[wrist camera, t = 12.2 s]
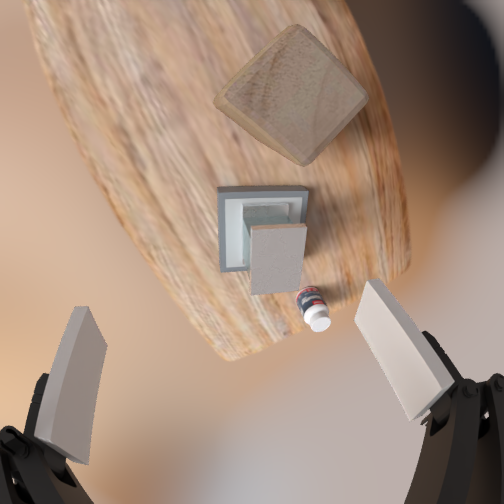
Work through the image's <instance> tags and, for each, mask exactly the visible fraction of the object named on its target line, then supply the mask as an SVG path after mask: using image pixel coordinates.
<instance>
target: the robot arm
mask: <svg viewBox="0 0 504 504" xmlns="http://www.w3.org/2000/svg"><path fill="white" fill-rule="evenodd" d="M354 321H355V323H356V324H357V325H358V328H359V329H360V331H361V333H362V335H363V336H364V338H365V340H366V341H367V343H368V345H369V347H370V349H371V350H372V352H373V354H374V355H375V357H376V359H377V361H378V363H379V364H380V366H381V368H382V370H383V372H384V374H385V375H386V377H387V379H388V381H389V383H390V385H391V386H392V388H393V390H394V392H395V394H396V396H397V398H398V400H399V401H400V403H401V405H402V407H403V409H404V411H405V413H406V415H407V417H408V419H409V421H412V420H414V419H416V418H418V417H420V416H422V415H423V414H424V413H425V412H426V411H427V410H428V409H430V411H431V413H430V414H429V415H428V416H427V417H425V418H424V420H422V422H421V425H423V424H424V423H425V422H427V421H428V422H427V424H426V425H425V426H427V427H426V432H425V437H424V441H423V445H422V449H421V453H420V457H419V461H418V464H417V467H416V471H415V474H414V477H413V480H412V483H411V486H410V489H409V492H408V495H407V497H406V500H405V503H404V504H504V376H503V375H501V374H498V373H496V374H493V376H492V377H491V378H490V379H489V380H488V381H484V382H479V383H476V382H475V381H473V380H471V379H464V378H463V377H462V376H461V375H460V373H459V372H458V370H457V369H456V367H455V366H454V364H453V363H452V362H451V360H450V359H449V357H448V356H447V354H445V351H444V350H443V349H442V347H440V344H439V343H438V342H437V340H436V339H435V338H434V337H433V336H432V335H431V334H430V333H428V332H427V331H423V332H421V331H420V330H419V329H418V327H417V326H416V324H415V323H414V322H413V320H412V319H411V318H410V317H409V315H408V314H407V313H406V311H405V310H404V309H403V307H402V306H401V305H400V303H399V302H398V301H397V300H396V298H395V297H394V296H393V295H392V293H391V292H390V291H389V290H388V288H387V287H386V286H385V285H384V283H383V282H382V281H381V280H380V279H379V278H378V279H371V280H367V282H366V285H365V288H364V292H363V295H362V298H361V301H360V304H359V307H358V310H357V313H356V316H355V319H354ZM106 350H107V343H106V342H105V340H104V338H103V336H102V334H101V332H100V330H99V328H98V326H97V324H96V322H95V320H94V318H93V316H92V313H91V311H90V309H89V307H88V306H80V307H79V306H78V307H75V308H74V310H73V312H72V315H71V317H70V319H69V322H68V324H67V327H66V329H65V332H64V334H63V337H62V339H61V342H60V345H59V348H58V350H57V353H56V356H55V359H54V362H53V365H52V368H51V371H50V374H46V373H43V374H42V376H41V377H40V379H39V380H38V381H37V383H36V387H35V390H34V395H33V397H32V403H31V404H30V408H29V412H28V416H27V420H26V425H25V429H24V433H23V434H22V433H21V432H20V431H18V430H17V429H16V428H14V427H13V426H5V427H4V428H3V429H2V430H1V431H0V504H94V503H93V502H92V501H91V499H90V498H89V496H88V495H87V493H86V492H85V490H84V489H83V488H82V486H81V485H80V483H79V482H78V480H77V478H76V477H75V475H74V474H73V472H72V471H71V469H70V467H69V466H68V464H67V463H66V458H68V459H69V460H71V461H73V462H76V463H80V464H85V465H89V454H90V442H91V434H92V425H93V418H94V412H95V405H96V399H97V394H98V388H99V382H100V378H101V373H102V368H103V363H104V358H105V355H106ZM486 412H488V413H489V417H488V418H487V419H486V418H485V416H484V414H486ZM12 478H14V481H15V483H13V480H12Z"/></svg>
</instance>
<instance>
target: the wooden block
mask: <svg viewBox="0 0 504 504" xmlns="http://www.w3.org/2000/svg"><path fill="white" fill-rule="evenodd" d="M368 100H369V96H368V94H367V92H366V91H365V89H364V88H363V87H362V86H361V85H360V83H359V82H358V81H357V80H356V79H355V78H354V76H353V75H352V74H351V73H350V72H349V71H348V70H347V69H346V68H345V66H344V65H343V64H342V63H341V62H340V61H339V60H338V59H337V58H336V57H335V56H334V55H333V54H332V53H331V52H330V51H329V50H328V49H327V48H326V47H325V46H324V45H323V44H322V43H321V42H320V41H319V40H318V39H317V38H316V37H315V36H314V35H312V34H311V33H310V32H309V31H308V30H307V29H306V28H305V27H303V26H301V25H298V24H295V25H292V26H288V27H287V28H286V29H284V30H283V31H282V32H281V33H280V34H279V35H277V36H276V37H275V38H274V39H273V40H272V41H271V42H269V43H268V44H267V45H266V46H265V47H264V48H263V49H262V50H261V51H260V52H259V53H257V54H256V55H255V56H254V57H253V58H252V59H251V60H250V61H249V62H248V63H247V64H246V65H245V66H244V67H243V68H242V69H241V70H240V71H239V72H238V73H237V74H236V75H235V76H234V77H233V78H232V79H231V81H230V82H229V83H228V84H227V85H226V86H225V87H224V88H223V89H222V90H221V91H220V92H219V94H218V95H217V96H216V97H215V98H214V101H213V103H214V105H215V107H216V108H218V109H219V110H220V111H221V112H223V113H224V114H225V115H227V116H228V117H229V118H231V119H232V120H233V121H234V122H236V123H237V124H238V125H239V126H241V127H242V128H243V129H244V130H246V131H247V132H248V133H249V134H250V135H252V136H253V137H254V138H255V139H257V140H258V141H260V142H261V143H263V144H265V145H266V146H268V147H270V148H271V149H273V150H274V151H276V152H278V153H279V154H281V155H282V156H284V157H286V158H287V159H289V160H290V161H292V162H293V163H295V164H297V165H300V166H303V167H305V166H307V165H309V164H310V163H312V162H313V161H314V160H315V158H316V157H317V156H318V155H319V154H320V153H321V152H322V151H323V150H324V149H325V148H326V147H327V145H328V144H329V143H330V142H331V141H332V140H333V139H334V138H335V137H336V136H337V135H338V134H339V132H340V131H341V130H342V129H343V128H344V127H345V126H346V125H347V124H348V123H349V122H350V121H351V120H352V119H353V117H354V116H355V115H356V114H357V113H358V112H359V111H360V110H361V109H362V108H363V107H364V106H365V105H366V104H367V102H368Z"/></svg>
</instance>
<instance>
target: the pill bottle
mask: <svg viewBox="0 0 504 504" xmlns="http://www.w3.org/2000/svg"><path fill="white" fill-rule="evenodd" d="M296 302H297V305H298V307H299V309H300V311H301V314H302V316H303V318H304V320H305V322H306V323H307V324H309V325H310V326H311V328H312V330H313V331H315V332H321V331H323V330H325V329H327V328H328V327H329V325H330V323H331V320H330V318H329V316H328V315H329V309H328V307H327V305H326V303H325V302H324V300H323V298H322V296H321V294H320V293H319V291H318V290H317V289H316V288H315V287H306V288H304V289H302V290H301V291H299V293H298V294H297V296H296Z"/></svg>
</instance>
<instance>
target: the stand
mask: <svg viewBox="0 0 504 504" xmlns="http://www.w3.org/2000/svg"><path fill="white" fill-rule="evenodd" d="M308 193H309V191H308V190H307V189H306V188H304V187H303V186H234V187H217V201H218V238H219V263H220V271H221V272H235V271H247V269H246V265H245V264H244V265H243V264H242V204H250V203H279V202H287V203H288V204H289V211H288V216H289V218H290V219H291V221H292V222H293V223H294V224H300V223H304V224H305V220H306V211H307V202H308Z"/></svg>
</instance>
